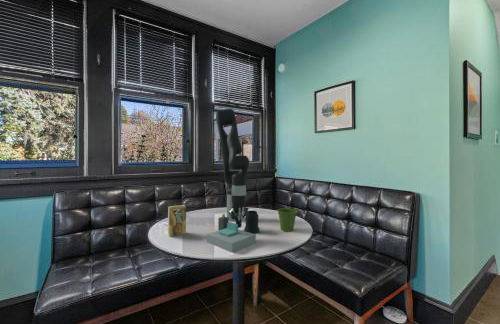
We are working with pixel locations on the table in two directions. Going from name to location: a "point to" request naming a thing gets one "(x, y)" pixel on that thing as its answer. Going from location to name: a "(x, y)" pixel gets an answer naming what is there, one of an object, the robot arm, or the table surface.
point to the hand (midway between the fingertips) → (238, 227)
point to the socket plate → (231, 240)
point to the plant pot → (287, 219)
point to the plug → (222, 222)
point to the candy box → (176, 220)
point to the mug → (251, 222)
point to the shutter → (230, 229)
